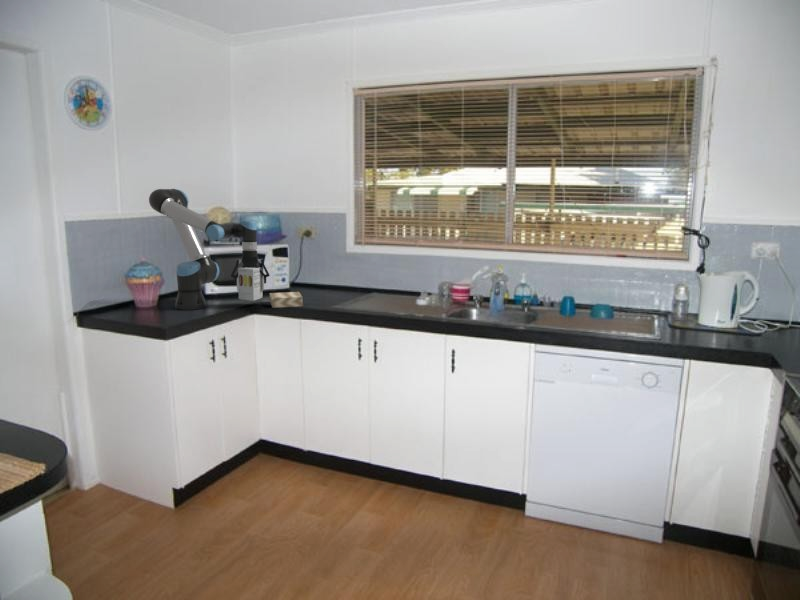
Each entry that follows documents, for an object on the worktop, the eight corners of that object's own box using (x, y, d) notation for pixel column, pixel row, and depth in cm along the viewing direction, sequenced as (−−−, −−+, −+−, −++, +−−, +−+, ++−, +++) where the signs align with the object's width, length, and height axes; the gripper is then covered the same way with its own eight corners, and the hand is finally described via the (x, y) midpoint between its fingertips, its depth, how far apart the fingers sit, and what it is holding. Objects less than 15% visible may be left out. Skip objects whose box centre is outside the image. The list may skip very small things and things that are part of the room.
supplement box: (238, 299, 298) (237, 267, 295) (247, 296, 307) (246, 265, 304) (254, 300, 296) (253, 269, 292) (263, 297, 304) (262, 266, 301)
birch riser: (272, 307, 297) (272, 298, 296) (269, 301, 312) (269, 293, 311) (302, 306, 302) (302, 297, 301) (299, 300, 317) (298, 291, 316)
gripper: (225, 250, 289) (226, 291, 293) (274, 250, 296) (274, 290, 301) (225, 249, 296) (226, 289, 300) (273, 248, 303) (273, 288, 308)
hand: (250, 289), depth 300 cm, fingers closed on supplement box, 12 cm apart
